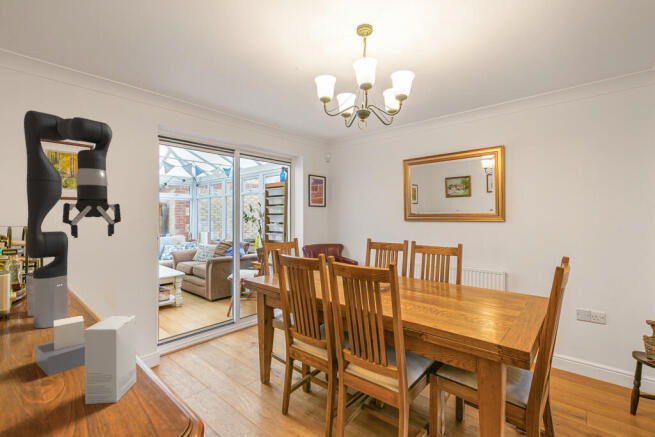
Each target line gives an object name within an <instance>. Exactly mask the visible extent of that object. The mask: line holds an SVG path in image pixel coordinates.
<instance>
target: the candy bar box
mask: <svg viewBox="0 0 655 437" xmlns="http://www.w3.org/2000/svg"><path fill="white" fill-rule="evenodd" d="M25 283H26V284H25V286H26V287H25V288H26V308H27V310H26V311H27V317H33V318H34V302H33V273H31V274H30V273H29V274H26V275H25Z"/></svg>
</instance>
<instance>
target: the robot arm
mask: <svg viewBox="0 0 655 437" xmlns="http://www.w3.org/2000/svg"><path fill="white" fill-rule="evenodd" d="M23 132H24V140H25V148H26V149H25V150H26V198H27V199H26V201H27V224H26V225H27V227H26V244H25V246H26V248H25V249H26V254H27V256H28V257H29V258H30V259H33V260H34V259H46V258H53V260H52V261H50V262H48V263H47V264H45V265H43V266H40V267H37V268H35V269H34V270H33V271H32V274H33V302H34V317H33V328H34V329H35V328H36V329H45V328H52V327H53V328H54V320H60V319H66V318H69V299H68V298H69V294H68V293H69V292H68V256H69V255H68V253H69V237H68V235H67V233H66V232H64V231H60V230H59V231H42V230H41V228H42V224H43V223H44V220H45V218H46V217H47V215H48V214H49V213H50V212H51V211H52V209H54V207H55V205H56V204H58V202H59V200H60V199H61V197H62V194H63V185H62V184H63V183H62V182H63V181H62V176H61V174H60V172H59V171H58V169H57V167H55V165H54V164H53V163H52V161H51V160H50V159H49V157H47V155H46V153H45V151H44V149H43V145H42V140H44V141H45V140H46V141H52V142H62V141H66V140H69V141H75V142H82V143H89V144H95V146H94V148H93V149H82V150H79V151H77V155H76V156H77V158H76V159H77V173H76V203H69V202H65V203H63V205H62V206H63V207H62V209H63V210H62V223H63V224H67V225H70V236H71V237H73V238H74V239H78V238H79V237H78V236H79V234H78V231H79V230H78V229H79V228H78V225H77V224H78V223H79V222H80V221H81V220H82V219H83V218H102V219H103V220H105V222H107V236H108V237H112V236H113V235H114V234H115V224H117V223H120V222H121V221H122V217H121V216H122V214H121V207H120V206H121V205H120V204H119V203H114V204H109V201H108V175H107V155H108V152H109V147H110V145H111V142H112V138H113V131H112V128H111V126H110V125H109V124H107V123H105V122H102V121H98V120H94V119H89V118H84V117H79V116H74V117H73V118H71V117H69V118H63V117H61V116H58V115H56V114H55V115H54V114H51V113H47V112H42V111H37V110H28V111H26V112H25V115H24V118H23ZM74 208H75V209H76V210H77V211H78V213H77V214H76V215H75V217H74V218H73V219H72V220H71V219H70V211H73V209H74ZM109 209H111V211H112V212H113V215H114V219H113V218H111V216H110V215H109V214H108V213H107V211H108V210H109Z"/></svg>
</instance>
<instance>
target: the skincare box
mask: <svg viewBox="0 0 655 437" xmlns="http://www.w3.org/2000/svg"><path fill="white" fill-rule="evenodd" d="M136 319H137V316H136V315H115V316H113V315H111V316H107V317H105V318H103V319H101V320H99V321H98V322H96V323H95V324H93V325H91V326H88V327H87V328H84V333H85V365H84V382H85V383H84V384H85V385H84V386H85V387H84V388H85V389H84V393H85V394H84V396H85V397H84V399H85V405H94V404H98V405H99V404H113V403H114V404H115V403H118V402H119V401H120V400H121V398H122V397H123V396H125V394H126V393H127V392H128V391H129V390H130V389H131V388H132V387H133V386H134V385H135V384H136V383H137V345H136V344H137V343H136V342H137V339H136V338H137V335H136V333H137V331H136V329H137V328H136V325H137V324H136V322H137V321H136Z"/></svg>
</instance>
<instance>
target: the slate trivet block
mask: <svg viewBox="0 0 655 437" xmlns="http://www.w3.org/2000/svg"><path fill="white" fill-rule="evenodd" d="M34 352H35V364H36V365H37V366H38V367H39V368H40V370H42V371H43V372H44V374H46V376H48V377H50V376H54V375H56V374H60V373H62V372H66V371H69V370H70V371H71V370H72V369H76V368H78V367H82V366H85V332H84V343H83V344H79V345H75V346H70V347H66V348H61V349H57V350H54V340H51V341H48V342H44V343H41V344H37V345H35V351H34Z"/></svg>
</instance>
